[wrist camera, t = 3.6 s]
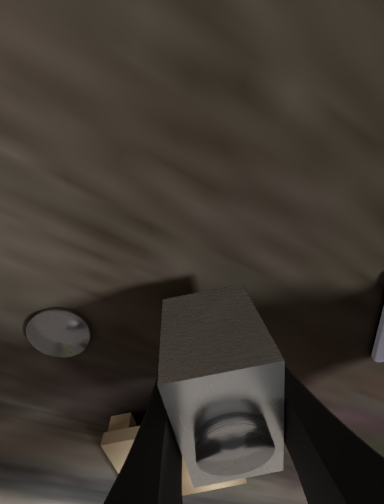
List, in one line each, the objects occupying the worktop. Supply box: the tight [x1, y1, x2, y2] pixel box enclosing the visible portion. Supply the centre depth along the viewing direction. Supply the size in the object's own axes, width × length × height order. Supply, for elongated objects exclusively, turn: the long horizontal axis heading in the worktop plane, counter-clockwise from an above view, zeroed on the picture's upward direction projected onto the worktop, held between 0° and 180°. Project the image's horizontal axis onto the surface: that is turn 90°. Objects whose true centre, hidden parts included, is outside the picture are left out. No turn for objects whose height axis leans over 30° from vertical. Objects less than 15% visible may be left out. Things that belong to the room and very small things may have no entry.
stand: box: [100, 413, 246, 496], centre depth 19 cm, size 10×10×2 cm
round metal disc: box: [26, 307, 92, 358], centre depth 14 cm, size 4×4×1 cm
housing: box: [157, 284, 285, 488], centre depth 10 cm, size 4×7×5 cm, turn 10°
